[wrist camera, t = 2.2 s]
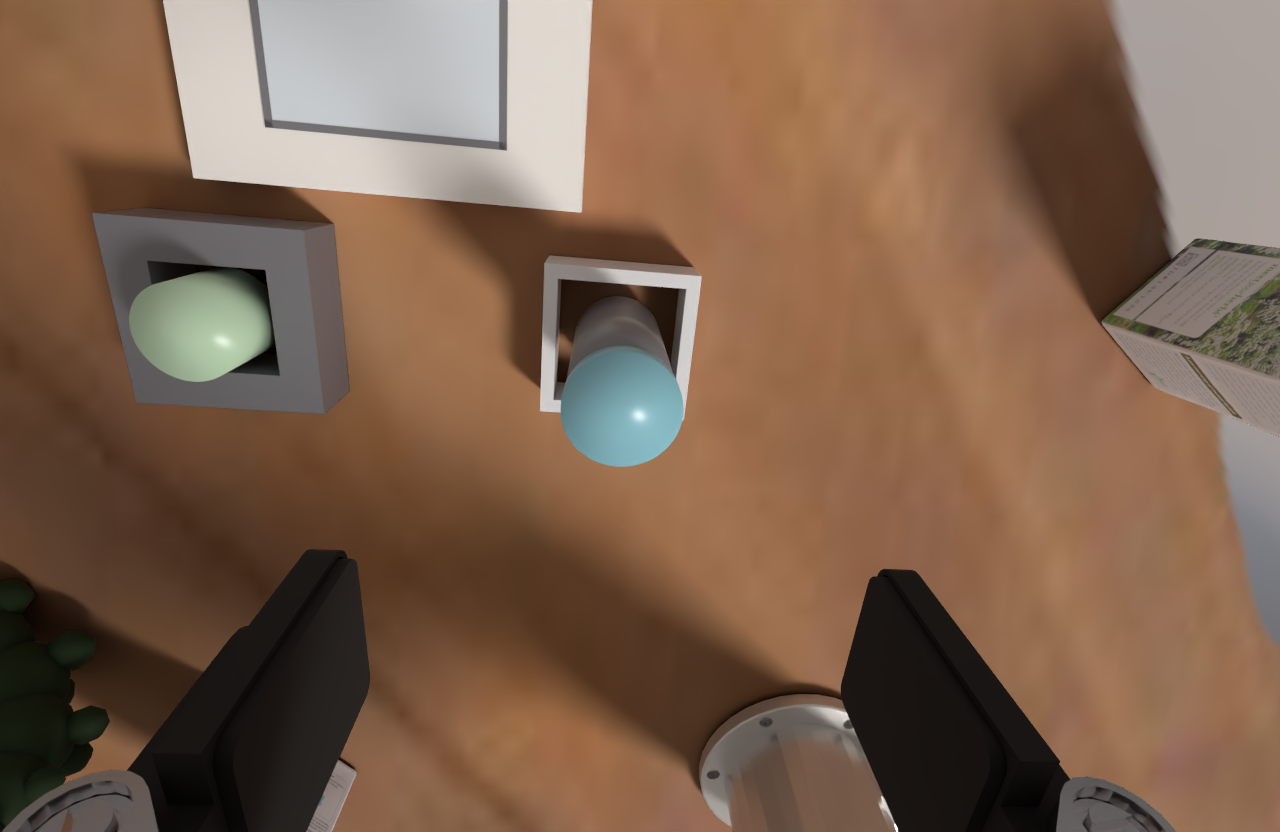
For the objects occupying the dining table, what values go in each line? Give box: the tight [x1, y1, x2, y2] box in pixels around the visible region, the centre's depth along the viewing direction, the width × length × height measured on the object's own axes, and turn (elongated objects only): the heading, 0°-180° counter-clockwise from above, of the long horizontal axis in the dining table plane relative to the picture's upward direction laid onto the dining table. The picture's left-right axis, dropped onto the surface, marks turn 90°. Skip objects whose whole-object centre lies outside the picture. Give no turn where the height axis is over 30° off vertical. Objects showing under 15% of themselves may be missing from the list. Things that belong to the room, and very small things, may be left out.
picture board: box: [163, 0, 593, 212], centre depth 25 cm, size 16×11×1 cm
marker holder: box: [540, 255, 702, 420], centre depth 29 cm, size 7×7×2 cm
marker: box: [561, 296, 683, 467], centre depth 25 cm, size 4×4×10 cm
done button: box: [129, 267, 275, 382], centre depth 26 cm, size 4×4×4 cm
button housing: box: [92, 208, 350, 414], centre depth 27 cm, size 8×8×3 cm
